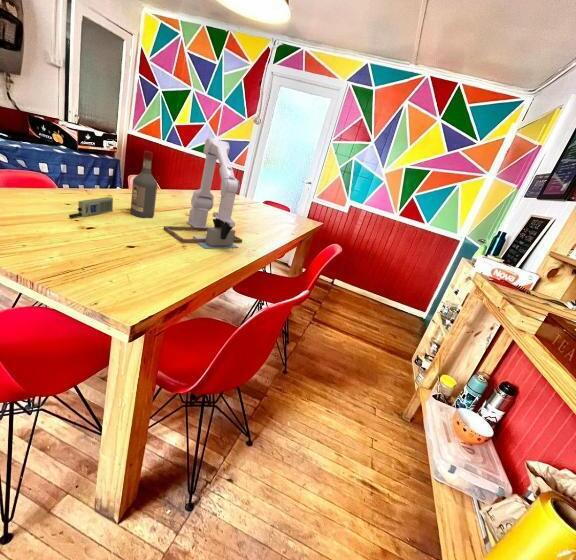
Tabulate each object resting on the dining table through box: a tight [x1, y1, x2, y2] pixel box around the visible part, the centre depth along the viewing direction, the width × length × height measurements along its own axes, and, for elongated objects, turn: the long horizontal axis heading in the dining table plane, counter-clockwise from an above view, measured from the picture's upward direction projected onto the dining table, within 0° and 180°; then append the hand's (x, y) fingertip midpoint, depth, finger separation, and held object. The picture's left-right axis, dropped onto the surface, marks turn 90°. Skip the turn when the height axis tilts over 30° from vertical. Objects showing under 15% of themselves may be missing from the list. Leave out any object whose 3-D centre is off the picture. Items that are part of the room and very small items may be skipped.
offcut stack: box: [192, 235, 206, 239], centre depth 149 cm, size 4×15×2 cm, turn 131°
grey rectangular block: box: [205, 226, 236, 246], centre depth 143 cm, size 4×12×7 cm, turn 135°
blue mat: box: [197, 243, 239, 250], centre depth 144 cm, size 6×18×1 cm, turn 135°
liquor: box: [130, 150, 158, 219], centre depth 152 cm, size 9×9×30 cm
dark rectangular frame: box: [163, 225, 243, 244], centre depth 151 cm, size 17×32×2 cm, turn 135°
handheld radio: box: [68, 196, 114, 219], centre depth 138 cm, size 7×3×25 cm
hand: (220, 237), depth 143 cm, fingers closed on grey rectangular block, 4 cm apart
